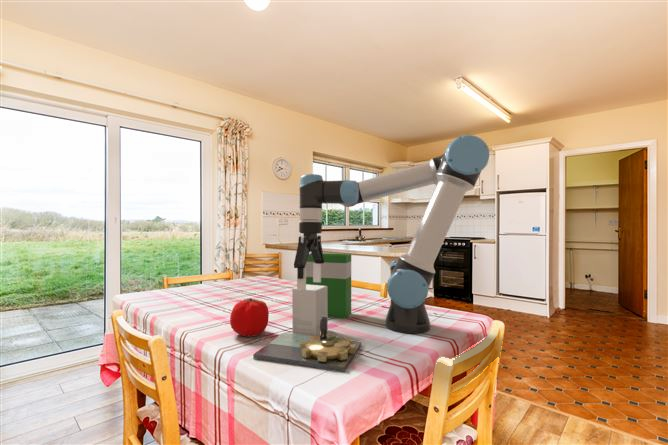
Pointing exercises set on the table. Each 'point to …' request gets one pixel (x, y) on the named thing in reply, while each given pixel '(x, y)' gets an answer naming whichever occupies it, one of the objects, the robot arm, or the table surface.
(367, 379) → the table surface
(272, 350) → the plate
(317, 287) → the supplement box
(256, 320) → the tomato
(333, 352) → the sprocket
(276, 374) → the table surface
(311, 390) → the table surface
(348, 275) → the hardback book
